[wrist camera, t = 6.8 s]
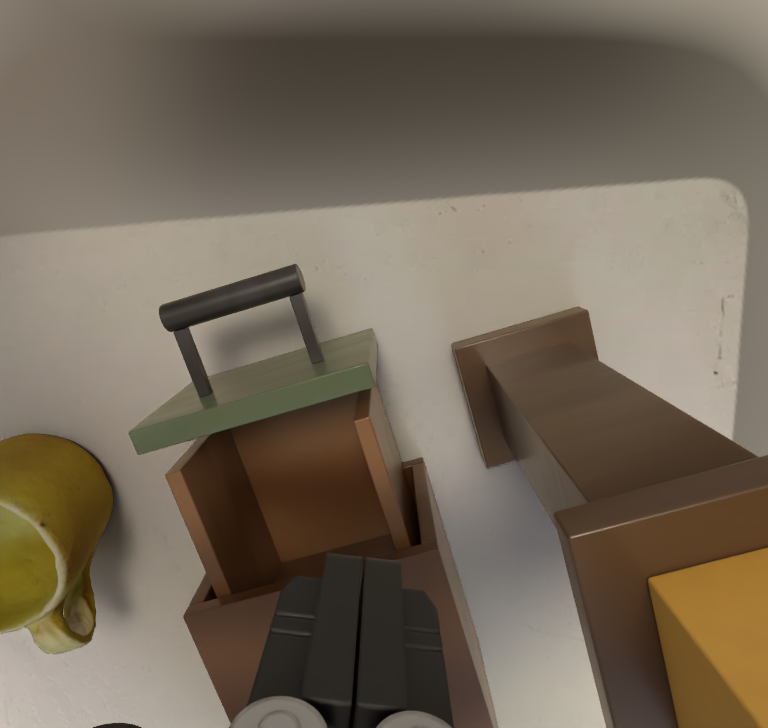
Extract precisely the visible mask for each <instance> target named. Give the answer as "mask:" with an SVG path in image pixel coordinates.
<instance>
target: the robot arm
mask: <svg viewBox="0 0 768 728" xmlns="http://www.w3.org/2000/svg"><path fill="white" fill-rule="evenodd" d="M361 566H362V557H361V556H352V555H344V554H336V553H328V552H327V553H326V558H325V564H324V569H323V574H322V579H321V578H312V577H304V576H295V577H294V578H293V579H292V580H291V581H290V582H289V583H288V584H287V585H286V586H285V587H284V588H283V589H282V590H281V592H280V595H279V598H278V602H277V605H276V609H275V613H274V616H273V619H272V622H271V626H270V630H269V633H268V636H267V640H266V643H265V646H264V650H263V653H262V657H261V660H260V664H259V667H258V670H257V674H256V677H255V681H254V684H253V687H252V691H251V694H250V698H249V701H248V703H247V706H246V708H244V709H243V710H242V711H241V712H240V713H239V714H238V715H237V716H236V717H235V719H234V720H233V721H232V723H231V725H230V727H229V728H454V724H453V718H452V711H451V703H450V696H449V689H448V682H447V675H446V667H445V660H444V653H443V646H442V639H441V635H440V624H439V617H438V610H437V608H436V607H435V605H434V604H433V602H432V601H431V600H430V598H429V597H428V595H427V594H426V592H425V591H422V590H414V589H405V588H402V575H401V562H400V561H395V560H387V559H378V558H370V557H365V559H364V565H363V572H362V579H361ZM360 580H361V586H360ZM93 728H141V727H139V726H136V725H133V724H127V723H111V724H104V725H100V726H96V727H93Z"/></svg>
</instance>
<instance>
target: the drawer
mask: <svg viewBox="0 0 768 728" xmlns="http://www.w3.org/2000/svg"><path fill="white" fill-rule="evenodd" d="M302 292H305V282H304V279H303V275H302V273H301V270H300V268H299V267H298V265H297V264H293V265H290V266H287V267H283V268H280V269H277V270H274V271H270V272H267V273H264V274H261V275H257V276H254V277H251V278H248V279H244V280H241V281H238V282H234V283H231V284H228V285H225V286H221V287H218V288H215V289H212V290H208V291H205V292H202V293H199V294H195V295H192V296H189V297H186V298H182V299H179V300H176V301H173V302H169V303H166V304H163V305H161V306H160V308H159V316H160V319H161V322H162V324H163V326H164V327H165V328H166V330H168V331H169V332H174V331H175V332H174V335H175V338H176V340H177V343H178V345H179V348H180V350H181V353H182V355H183V358H184V360H185V363H186V365H187V368H188V371H189V373H190V376H191V378H192V381H193V382H192V383H190V384H189V385H188V386H187V387H185V388H184V389H183V390H181V391H180V392H179V393H178V394H176V395H175V396H174V397H173V398H171V399H170V400H169V401H167V402H166V403H165V404H164V405H162V406H161V407H160V408H159V409H157V410H156V411H155V412H153V413H152V414H151V415H150V416H148V417H147V418H146V419H145V420H143V421H142V422H141V423H139V424H138V425H137V426H136V427H134V428H133V429H132V430H131V431H129V435H130V438H131V440H132V442H133V444H134V447H135V449H136V451H137V454H138V455H140V454H144V453H147V452H151V451H154V450H158V449H161V448H165V447H168V446H172V445H175V444H179V443H182V442H186V441H189V440H192V439H196V438H198V439H197V440H196V441H195V442H194V443H193V445H192V446H191V447H190V448H189V449H188V450H187V451H186V452H185V454H184V455H183V456H182V457H181V458H180V459H179V460H178V461H177V462H176V464H175V465H174V466H173V467H172V468H171V469H170V470H169V471H168V472H167V474H166V475H165V476H166V479H167V481H168V483H169V486H170V488H171V491H172V493H173V495H174V498H175V500H176V502H177V505H178V507H179V509H180V512H181V514H182V516H183V519H184V521H185V523H186V526H187V528H188V530H189V533H190V535H191V538H192V540H193V542H194V545H195V547H196V549H197V552H198V554H199V556H200V559H201V561H202V563H203V566H204V568H205V570H206V573H207V575H208V578H209V580H210V582H211V585H212V587H213V589H214V592H215V594H216V596H217V598H221V597H224V596H228V595H232V594H236V593H239V592H243V591H247V590H251V589H254V588H258V587H262V586H266V585H270V584H273V583H277V582H281V581H285V580H288V579H292V578H294V577H295V576H303V575H307V574H311V573H315V572H318V571H322V570H323V569H324V564H325V558H326V553H327V552H328V553H336V554H344V555H352V556H361V557H362V560H363V559H365V557H370V558H371V557H375V556H378V555H382V554H386V553H390V552H393V551H397V550H401V549H405V548H408V547H412V546H416V545H420V544H421V540H420V531H419V523H418V514H417V510H416V507H415V504H414V500H413V497H412V494H411V491H410V488H409V485H408V481H407V478H406V475H405V472H404V469H403V465H402V462H401V459H400V456H399V453H398V449H397V446H396V443H395V440H394V437H393V433H392V430H391V427H390V424H389V421H388V418H387V414H386V411H385V408H384V405H383V402H382V398H381V395H380V392H379V389H378V386H377V382H376V366H377V348H378V345H377V342H376V339H375V335H374V332H373V329H372V328H370V329H367V330H364V331H360V332H357V333H354V334H350V335H347V336H343V337H340V338H337V339H333V340H330V341H326V342H323V343H319V340H318V337H317V334H316V331H315V328H314V325H313V322H312V319H311V316H310V313H309V310H308V307H307V304H306V301H305V298H304V295H303V293H302ZM289 296H290V300H291V303H292V306H293V309H294V312H295V315H296V318H297V321H298V324H299V327H300V330H301V333H302V336H303V339H304V342H305V345H306V348H303V349H299V350H296V351H293V352H289V353H286V354H282V355H279V356H276V357H272V358H269V359H266V360H262V361H259V362H255V363H252V364H249V365H245V366H242V367H239V368H235V369H232V370H228V371H225V372H222V373H218V374H215V375H211V376H207V374H206V371H205V369H204V366H203V364H202V361H201V358H200V356H199V353H198V351H197V348H196V345H195V343H194V340H193V338H192V335H191V333H190V330H189V328H188V327H190V326H194V325H197V324H200V323H203V322H207V321H210V320H213V319H217V318H220V317H223V316H227V315H230V314H233V313H236V312H240V311H243V310H246V309H250V308H253V307H256V306H260V305H263V304H266V303H269V302H273V301H276V300H279V299H283V298H286V297H289Z"/></svg>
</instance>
